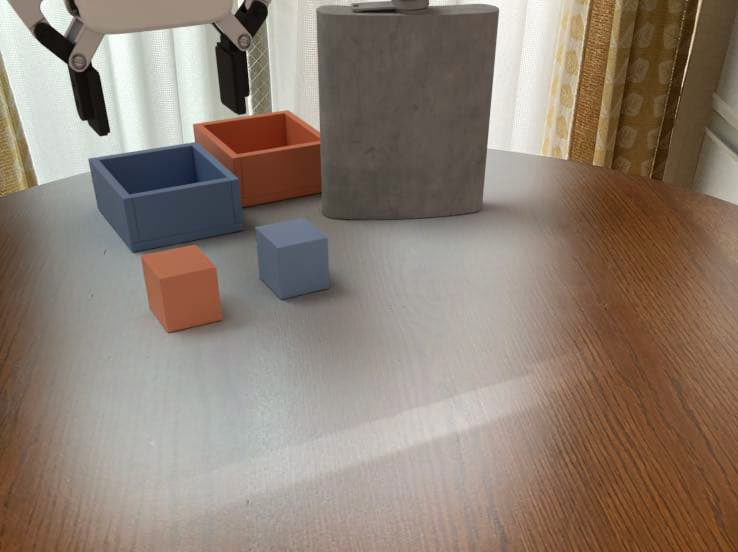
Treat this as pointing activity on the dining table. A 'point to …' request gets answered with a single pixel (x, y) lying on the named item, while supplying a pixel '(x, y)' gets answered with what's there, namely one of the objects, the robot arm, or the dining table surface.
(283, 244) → the blue block
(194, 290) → the terracotta block
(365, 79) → the hip flask
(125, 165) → the blue bin
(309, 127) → the terracotta bin
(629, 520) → the dining table surface
